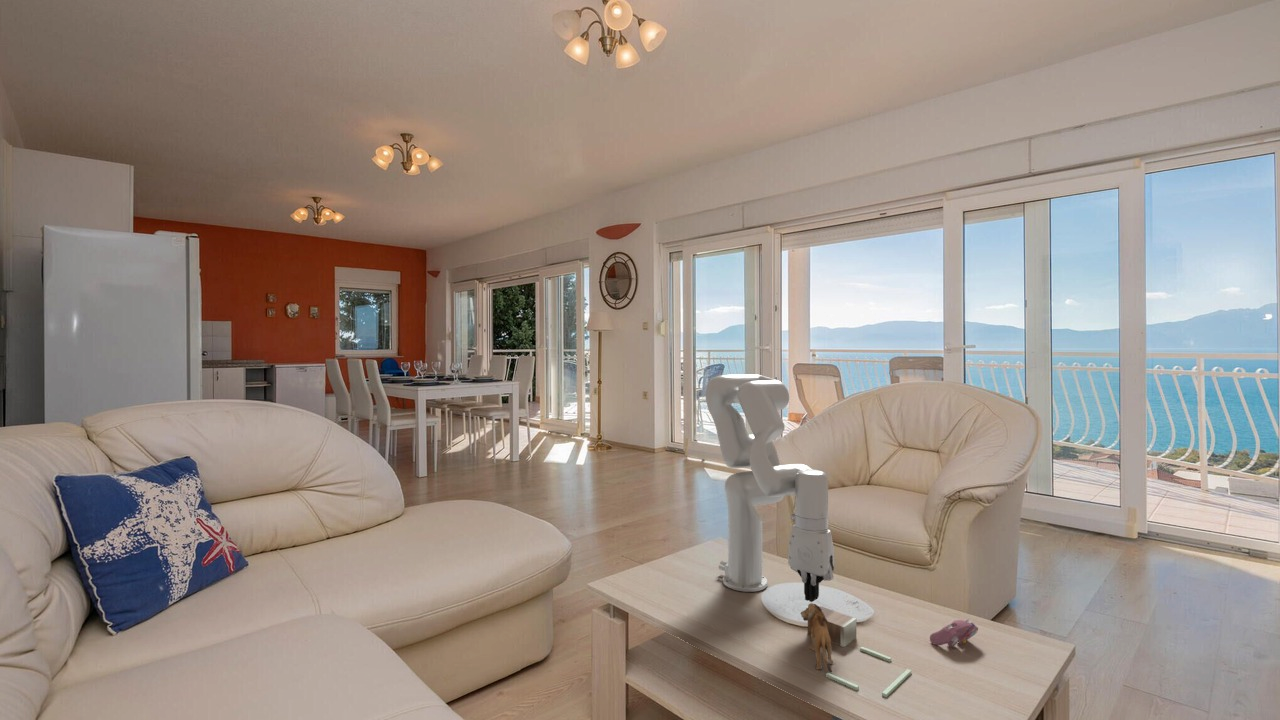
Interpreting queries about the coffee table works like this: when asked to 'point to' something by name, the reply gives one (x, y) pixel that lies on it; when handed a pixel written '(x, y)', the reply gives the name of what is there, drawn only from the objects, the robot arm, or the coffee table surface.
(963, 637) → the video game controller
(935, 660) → the coffee table surface
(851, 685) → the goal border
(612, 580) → the coffee table surface
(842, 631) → the walnut block
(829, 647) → the lion figurine
